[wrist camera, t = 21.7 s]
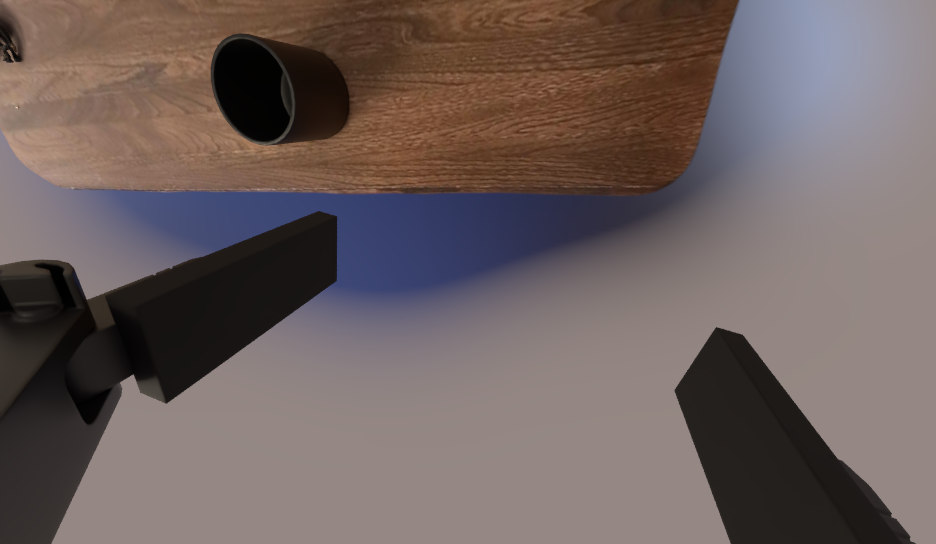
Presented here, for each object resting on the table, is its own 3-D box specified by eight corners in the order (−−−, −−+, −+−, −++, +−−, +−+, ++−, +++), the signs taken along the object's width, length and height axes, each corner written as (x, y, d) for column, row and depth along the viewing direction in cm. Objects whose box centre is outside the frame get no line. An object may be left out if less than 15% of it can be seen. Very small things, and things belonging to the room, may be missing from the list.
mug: (257, 39, 39) (178, 21, 31) (350, 56, 37) (291, 42, 29) (265, 126, 44) (198, 130, 36) (349, 146, 42) (298, 154, 34)
